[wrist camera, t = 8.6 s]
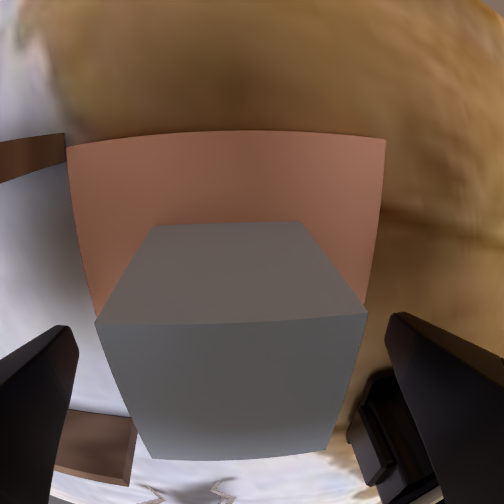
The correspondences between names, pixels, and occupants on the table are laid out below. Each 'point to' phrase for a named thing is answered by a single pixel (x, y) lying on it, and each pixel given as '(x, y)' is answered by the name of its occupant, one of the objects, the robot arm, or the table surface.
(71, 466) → the walnut u-shaped frame
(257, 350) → the slate block
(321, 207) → the terracotta mat
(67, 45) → the table surface
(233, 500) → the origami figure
